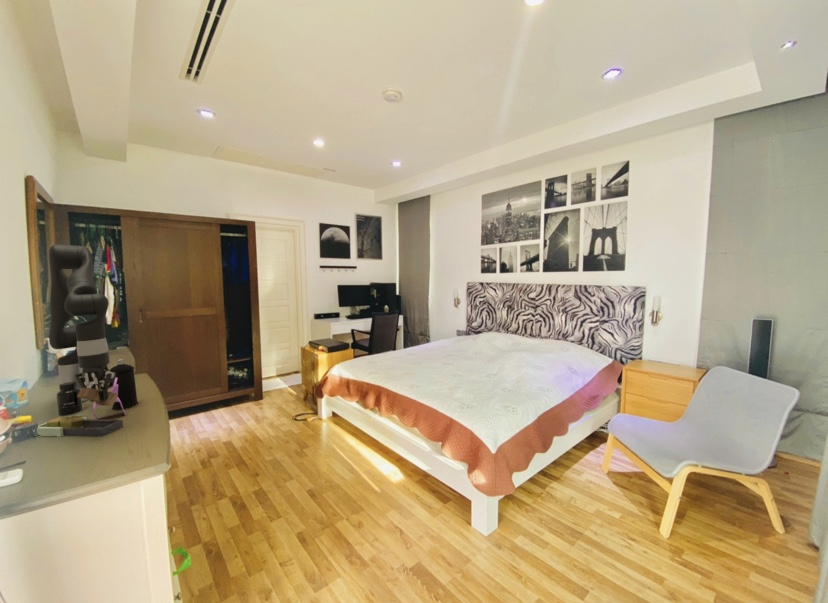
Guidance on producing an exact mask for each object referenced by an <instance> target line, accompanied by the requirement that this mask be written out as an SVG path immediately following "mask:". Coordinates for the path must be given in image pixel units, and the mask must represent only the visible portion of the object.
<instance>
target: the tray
mask: <svg viewBox="0 0 828 603" xmlns="http://www.w3.org/2000/svg"><path fill="white" fill-rule="evenodd" d="M85 419H86V420H89V418H88V416H87V417H84V416H83V420H85ZM37 426H38V428H37V433H38V434H39V435H45V436H57V437H56V438H61V436H62V437H65V436H64V435H63V428H62V427H47V422H44V423H42V424H39V425H37Z"/></svg>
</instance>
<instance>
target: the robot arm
mask: <svg viewBox="0 0 828 603" xmlns="http://www.w3.org/2000/svg"><path fill="white" fill-rule="evenodd" d="M48 259H49V260H48V261H49V270H50V280H51V281H50V295H49V296H50V297H49V298H50V301H49V302H50V303H49V304H50V326H49V335H48V342H49V345H50V347H51V348H52V349H54V350H63V349H65V350H66V349H70V348H74V350H72V351H71V352H69V353H68V354H65V355H62V356H60V357H59V358H57V368H58V374H59V381H58V386H59V385H60V384H63V383H67V382H76V383H77V387H76V388H79V389H80V390H81V389H82V388H92V389H96V390H99V399H100V402H103V401H106V400H108V392H109V390H110V388H111V387H113V385H114V381H115V378H116V374H117V373H116V372H110V369H109V367H108V364H110V355H109V347H108V346H109V345H108V341H107V338H106V329H105V328H106V327H105V322H106V321H105V320H106V315H107V312H108V309H109V304H110V303H109V299H108V297H107V296H106V295H105V294H103V293H98V290H97V286H96V283H95V280H94V265H93V264H94V263H93V258H92V253H91V250H90V249H89V247H87V246H84V245H83V246H82V245H73V244H71V245H70V244H53V245H51V246H50V248H49V250H48ZM64 270H74V271H73V272H71V274H69V276H67V275H66V273H65V272H64ZM92 315H94V318H93V319H91V320H88V321H84V322H80V323H78V324H76V325H75V326H74V325H73V326H66V324H68V323H69V321H70V320H72V319H74V317H81V316H92ZM85 401H88V400H87V399H83V398H82V402H85ZM89 402H91V403H95V401H91V400H89Z"/></svg>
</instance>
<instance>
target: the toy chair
mask: <svg viewBox="0 0 828 603" xmlns="http://www.w3.org/2000/svg"><path fill="white" fill-rule="evenodd" d="M116 383H117V378H115V381H114V385H113V387H111V388H109V390H110V392H112V393H116V394H118V384H116ZM115 402H120V404H121V407H122V409H123V406H122V403H121V401H120V399H119V398H118V396H117V398H116V400H115ZM100 406H101V405H99V404H95V402H93V406H92V410H93V416H94V418H95V419H94V420H99V419H98V417H97V415H96V408H97V407H100ZM122 412H123V414H124V415H125V416H124V417H126V415H127V413H126V411H125V409H123V410H122Z"/></svg>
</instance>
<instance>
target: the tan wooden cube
mask: <svg viewBox="0 0 828 603" xmlns="http://www.w3.org/2000/svg"><path fill="white" fill-rule="evenodd" d="M68 417H69V418H66V419H64V420H62V421H60V427H62V428H66V427H78V428H84V427H83V424H82V421H83V417H84V416H83V415H71V416H68Z"/></svg>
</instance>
